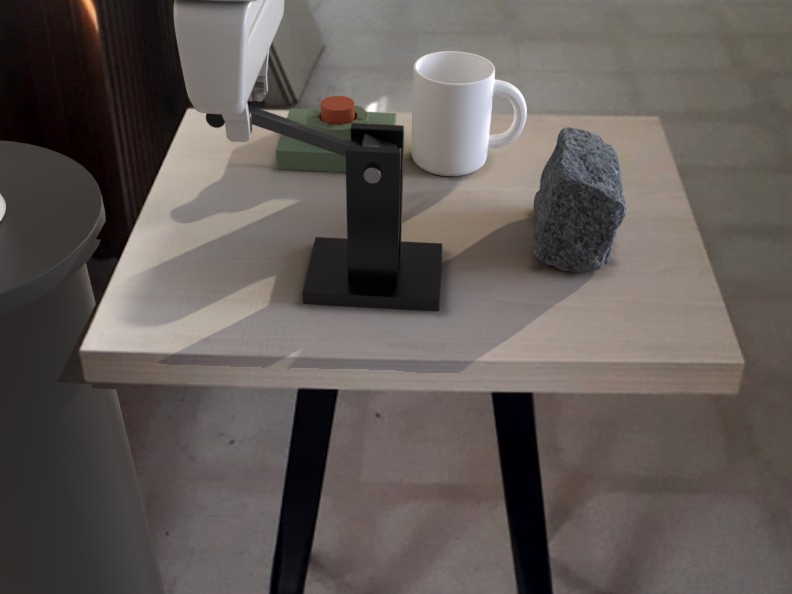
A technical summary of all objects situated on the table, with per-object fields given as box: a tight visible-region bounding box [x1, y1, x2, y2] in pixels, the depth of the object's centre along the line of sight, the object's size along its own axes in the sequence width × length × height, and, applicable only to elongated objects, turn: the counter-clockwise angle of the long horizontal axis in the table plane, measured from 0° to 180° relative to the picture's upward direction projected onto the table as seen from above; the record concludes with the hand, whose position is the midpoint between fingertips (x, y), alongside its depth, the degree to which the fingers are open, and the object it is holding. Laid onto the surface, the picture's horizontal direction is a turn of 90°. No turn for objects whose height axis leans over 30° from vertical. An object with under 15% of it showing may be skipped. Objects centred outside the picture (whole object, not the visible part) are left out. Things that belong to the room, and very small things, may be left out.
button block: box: [275, 104, 397, 173], centre depth 104 cm, size 12×10×4 cm
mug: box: [410, 50, 528, 177], centre depth 100 cm, size 12×8×10 cm
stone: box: [532, 126, 628, 273], centre depth 89 cm, size 12×8×10 cm, turn 0°
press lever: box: [205, 104, 397, 156], centre depth 78 cm, size 15×5×2 cm, turn 86°
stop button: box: [319, 95, 355, 125], centre depth 102 cm, size 4×4×2 cm
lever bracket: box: [301, 123, 444, 312], centre depth 82 cm, size 12×9×14 cm
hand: (248, 117), depth 77 cm, fingers open, 6 cm apart
